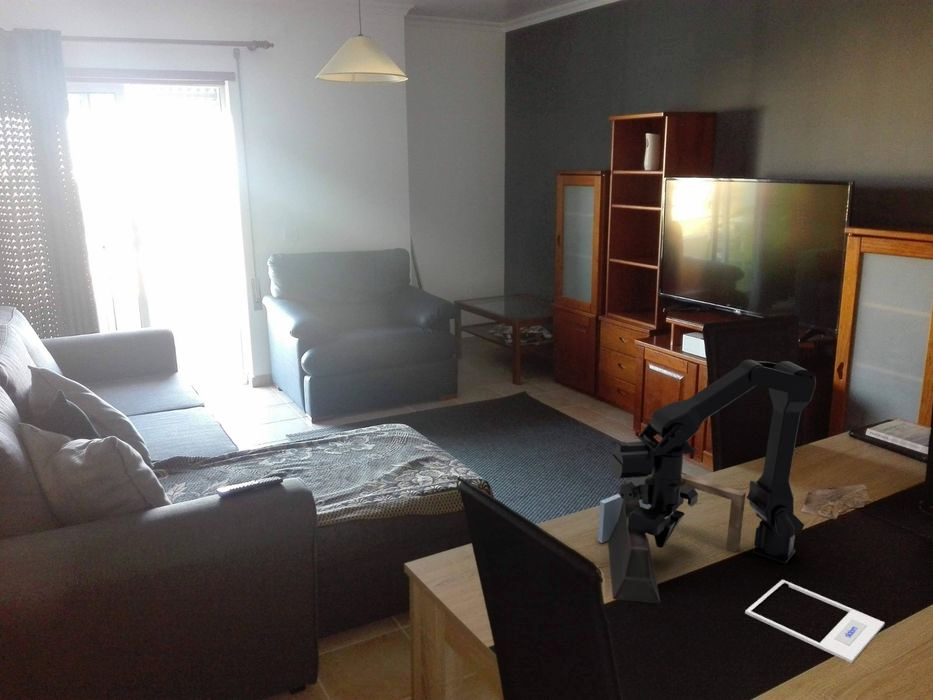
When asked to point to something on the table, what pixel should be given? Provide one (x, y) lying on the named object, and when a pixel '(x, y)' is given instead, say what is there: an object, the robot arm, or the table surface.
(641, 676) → the table surface
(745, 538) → the table surface
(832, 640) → the photo frame
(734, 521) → the door frame
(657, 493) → the robot arm
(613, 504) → the door
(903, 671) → the table surface
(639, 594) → the barrier
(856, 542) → the table surface
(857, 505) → the wooden fragment
